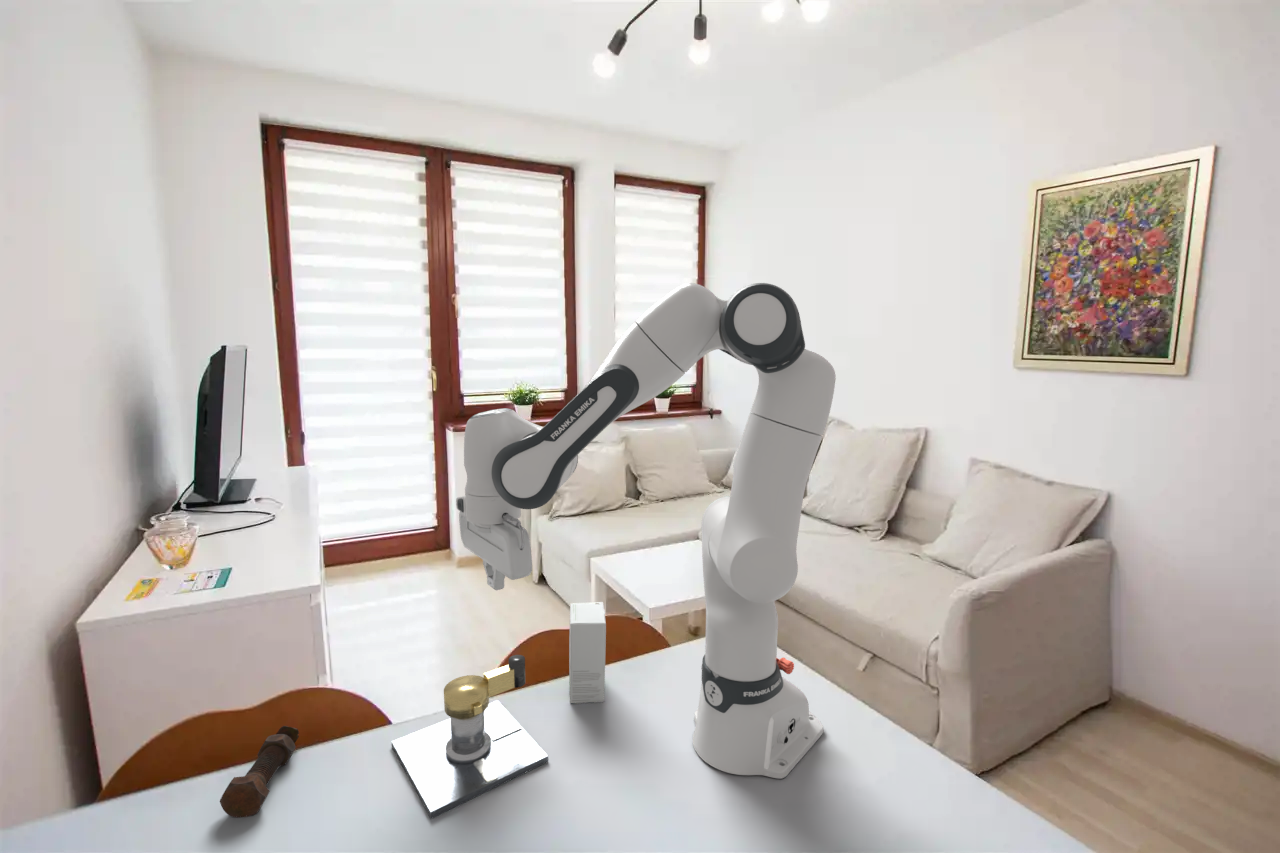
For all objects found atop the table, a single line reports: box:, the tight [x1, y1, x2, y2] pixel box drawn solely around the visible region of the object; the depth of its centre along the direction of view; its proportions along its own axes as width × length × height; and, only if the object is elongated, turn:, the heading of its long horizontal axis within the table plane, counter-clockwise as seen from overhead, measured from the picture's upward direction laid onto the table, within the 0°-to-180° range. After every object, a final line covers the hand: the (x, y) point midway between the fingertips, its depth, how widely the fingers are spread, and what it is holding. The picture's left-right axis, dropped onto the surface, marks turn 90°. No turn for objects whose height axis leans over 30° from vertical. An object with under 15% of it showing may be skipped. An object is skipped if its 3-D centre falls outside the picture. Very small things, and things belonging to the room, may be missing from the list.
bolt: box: [219, 725, 300, 818], centre depth 88 cm, size 6×5×15 cm
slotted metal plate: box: [391, 699, 549, 819], centre depth 93 cm, size 18×18×8 cm
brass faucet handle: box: [443, 654, 526, 719], centre depth 94 cm, size 13×9×5 cm
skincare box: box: [568, 601, 607, 704], centre depth 109 cm, size 8×7×16 cm
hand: (495, 586), depth 100 cm, fingers closed
